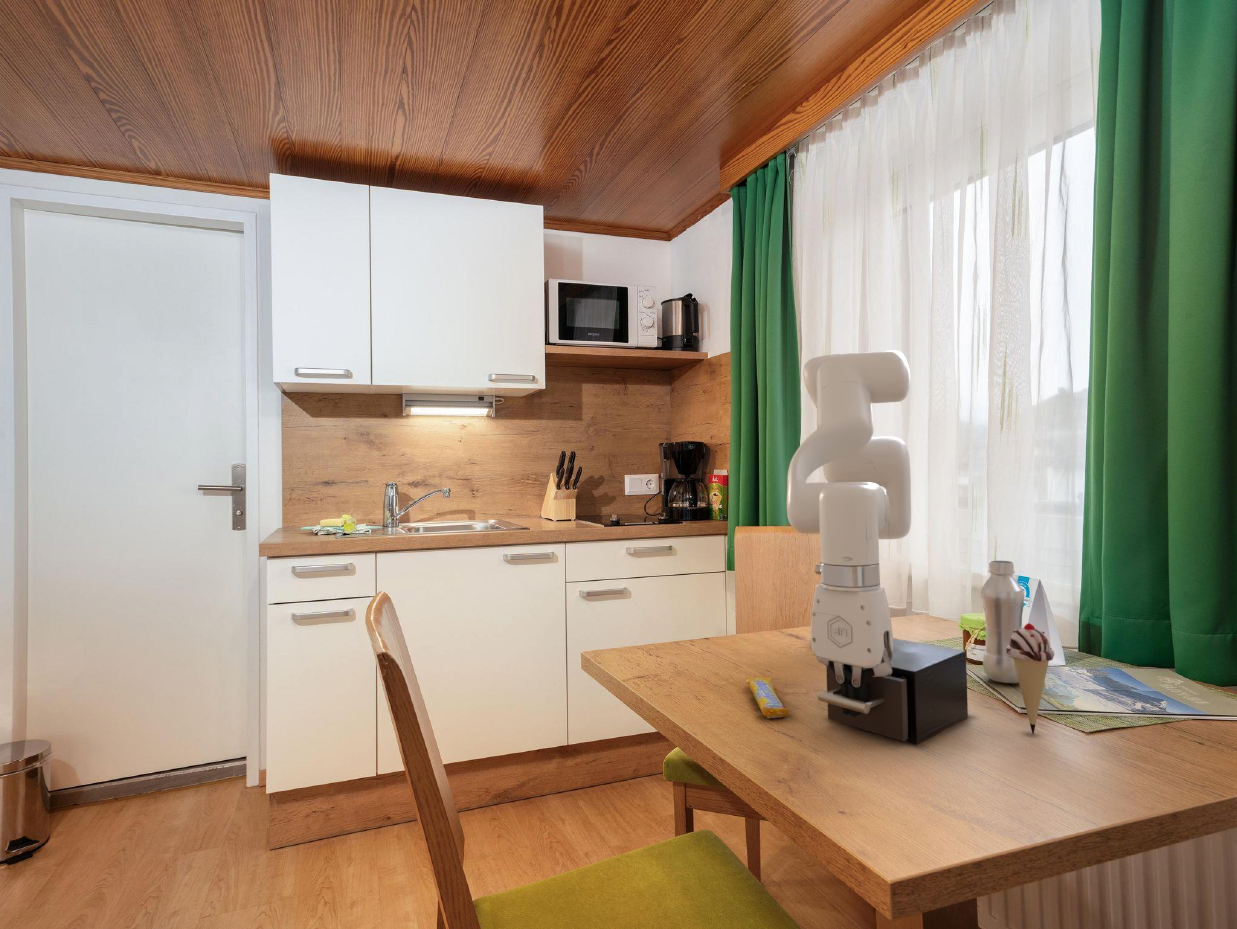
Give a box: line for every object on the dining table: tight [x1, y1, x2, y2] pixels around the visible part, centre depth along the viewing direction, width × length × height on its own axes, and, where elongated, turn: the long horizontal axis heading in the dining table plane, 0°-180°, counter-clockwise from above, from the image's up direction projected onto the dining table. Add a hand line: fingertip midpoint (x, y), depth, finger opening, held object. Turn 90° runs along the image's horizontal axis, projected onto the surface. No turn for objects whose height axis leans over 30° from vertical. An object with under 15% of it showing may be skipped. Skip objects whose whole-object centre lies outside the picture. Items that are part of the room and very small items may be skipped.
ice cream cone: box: [1006, 623, 1055, 735], centre depth 95 cm, size 6×6×15 cm
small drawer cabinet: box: [876, 637, 969, 745], centre depth 102 cm, size 15×13×10 cm
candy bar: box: [745, 676, 790, 720], centre depth 111 cm, size 17×4×2 cm, turn 178°
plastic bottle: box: [980, 560, 1025, 684], centre depth 117 cm, size 6×7×20 cm
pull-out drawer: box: [817, 665, 911, 742], centre depth 98 cm, size 19×11×8 cm, turn 129°
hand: (854, 712), depth 94 cm, fingers closed
